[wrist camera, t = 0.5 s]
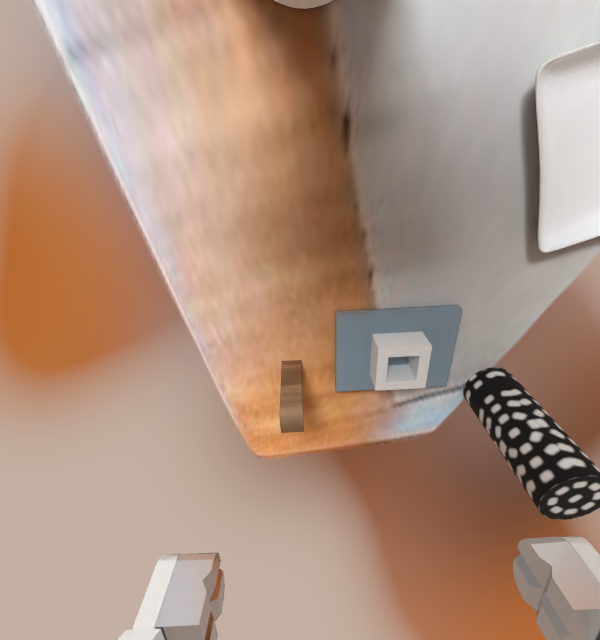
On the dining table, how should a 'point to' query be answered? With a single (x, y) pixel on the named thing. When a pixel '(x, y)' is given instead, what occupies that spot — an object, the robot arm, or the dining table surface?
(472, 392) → the white-spotted black cylinder
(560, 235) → the salad plate
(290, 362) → the brown wooden peg
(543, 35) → the dining table surface
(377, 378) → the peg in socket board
